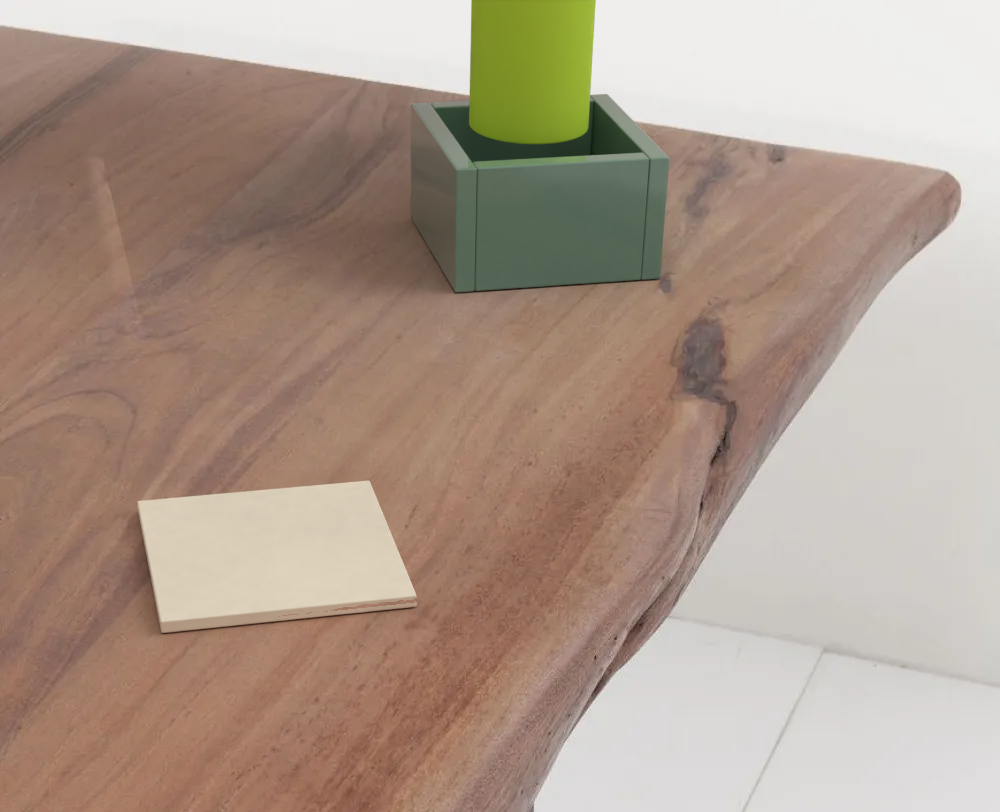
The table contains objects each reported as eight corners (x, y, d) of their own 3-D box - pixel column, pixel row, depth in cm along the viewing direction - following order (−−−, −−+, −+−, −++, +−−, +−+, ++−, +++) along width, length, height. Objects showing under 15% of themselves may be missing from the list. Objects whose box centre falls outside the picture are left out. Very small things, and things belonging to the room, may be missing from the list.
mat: (161, 633, 65) (160, 621, 65) (137, 512, 72) (136, 500, 72) (417, 607, 67) (417, 595, 67) (369, 491, 74) (369, 479, 74)
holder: (454, 293, 91) (456, 169, 87) (410, 218, 99) (410, 102, 95) (660, 279, 93) (670, 157, 89) (601, 207, 101) (607, 93, 97)
